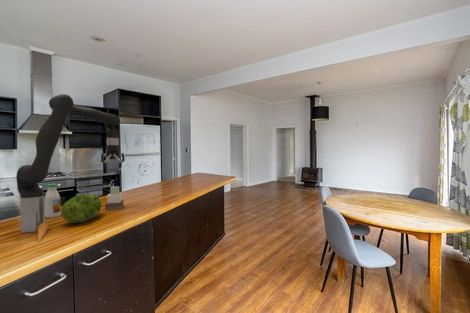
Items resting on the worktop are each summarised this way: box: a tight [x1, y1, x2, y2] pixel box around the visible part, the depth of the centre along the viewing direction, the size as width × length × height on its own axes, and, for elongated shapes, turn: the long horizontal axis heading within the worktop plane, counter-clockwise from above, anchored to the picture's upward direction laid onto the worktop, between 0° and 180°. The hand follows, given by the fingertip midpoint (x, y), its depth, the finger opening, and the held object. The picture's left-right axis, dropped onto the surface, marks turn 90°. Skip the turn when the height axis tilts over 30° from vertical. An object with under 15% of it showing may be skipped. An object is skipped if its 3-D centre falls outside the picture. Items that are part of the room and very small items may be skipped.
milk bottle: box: [44, 183, 62, 219], centre depth 145 cm, size 8×8×20 cm
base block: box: [104, 199, 125, 212], centre depth 165 cm, size 10×10×5 cm
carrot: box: [37, 222, 50, 243], centre depth 113 cm, size 20×4×4 cm, turn 34°
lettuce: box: [61, 193, 103, 224], centre depth 138 cm, size 15×27×16 cm, turn 0°
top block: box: [106, 192, 123, 203], centre depth 164 cm, size 8×8×5 cm
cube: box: [109, 186, 120, 195], centre depth 164 cm, size 5×5×5 cm
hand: (113, 168), depth 163 cm, fingers open, 8 cm apart
